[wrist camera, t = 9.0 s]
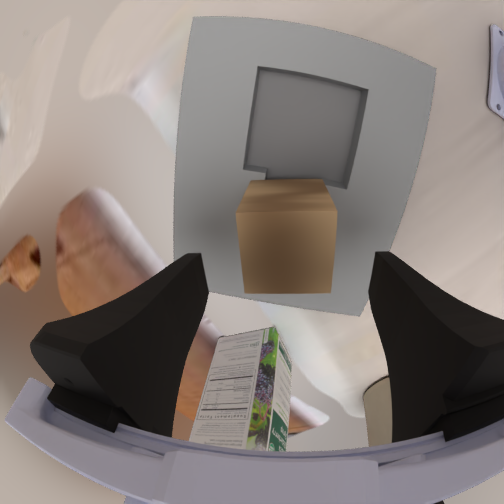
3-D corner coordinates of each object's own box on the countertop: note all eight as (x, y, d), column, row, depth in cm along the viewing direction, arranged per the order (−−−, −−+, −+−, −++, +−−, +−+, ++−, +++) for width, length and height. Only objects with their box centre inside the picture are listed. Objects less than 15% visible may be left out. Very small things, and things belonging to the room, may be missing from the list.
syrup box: (293, 362, 25) (286, 502, 13) (240, 370, 27) (215, 498, 15) (275, 324, 23) (257, 492, 11) (215, 336, 25) (173, 482, 12)
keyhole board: (422, 71, 12) (436, 68, 10) (355, 299, 21) (359, 316, 19) (203, 25, 12) (193, 16, 10) (182, 269, 21) (174, 284, 19)
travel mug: (381, 409, 30) (392, 524, 14) (350, 393, 28) (357, 532, 12) (430, 382, 26) (456, 503, 11) (407, 362, 24) (437, 513, 9)
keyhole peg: (319, 172, 16) (337, 211, 10) (318, 231, 18) (330, 293, 12) (253, 174, 16) (235, 212, 11) (258, 232, 18) (244, 293, 13)
